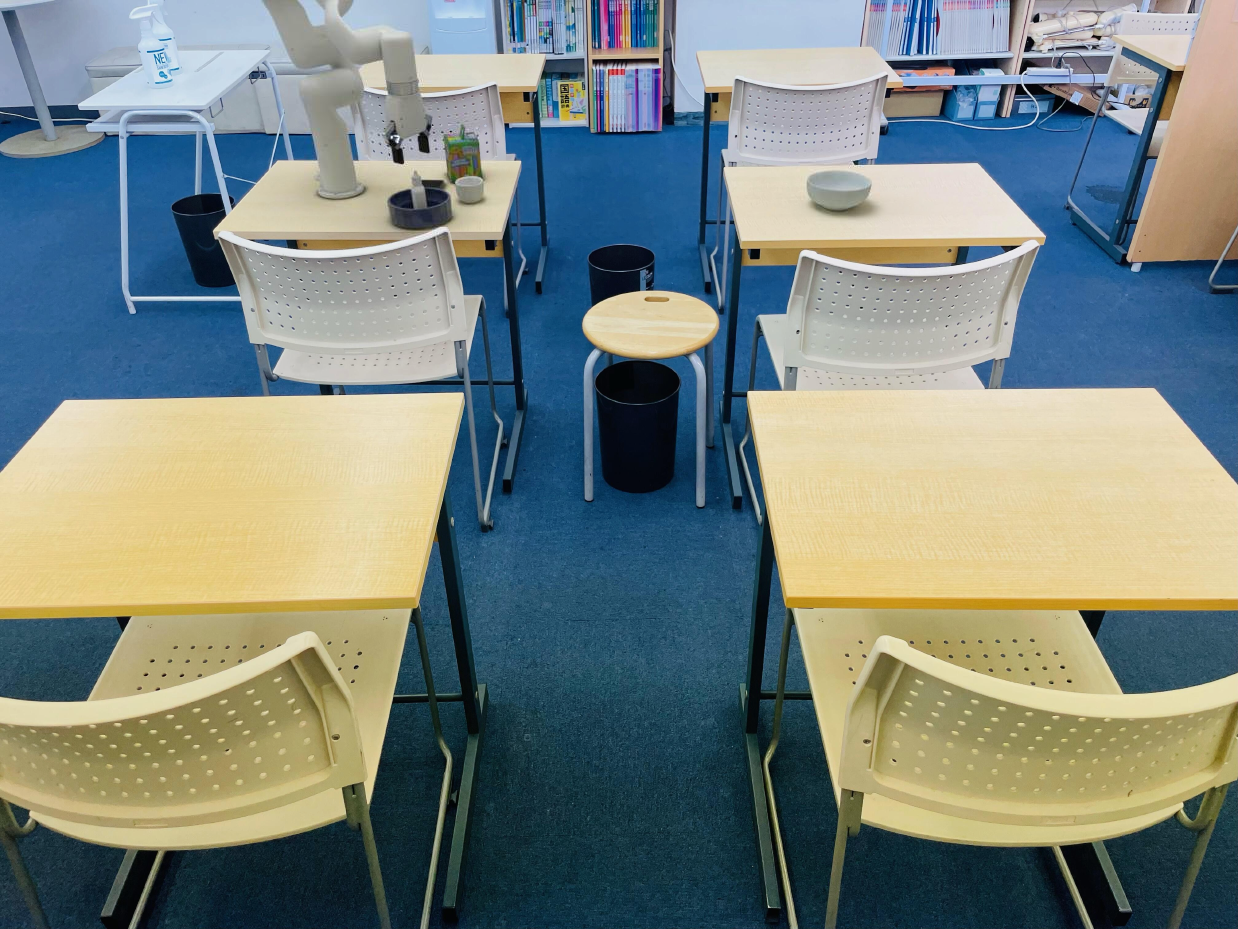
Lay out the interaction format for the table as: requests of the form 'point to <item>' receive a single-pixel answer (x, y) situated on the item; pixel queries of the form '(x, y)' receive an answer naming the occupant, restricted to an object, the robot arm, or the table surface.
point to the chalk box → (462, 155)
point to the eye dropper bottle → (418, 192)
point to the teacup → (469, 189)
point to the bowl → (420, 218)
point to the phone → (433, 183)
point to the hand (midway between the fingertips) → (412, 157)
